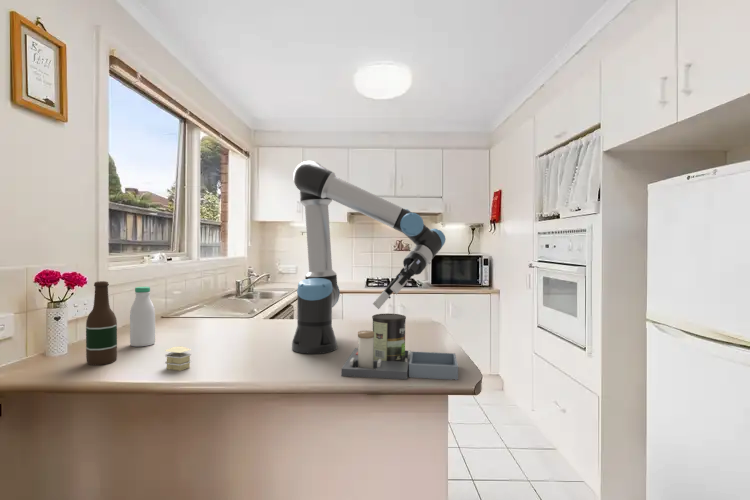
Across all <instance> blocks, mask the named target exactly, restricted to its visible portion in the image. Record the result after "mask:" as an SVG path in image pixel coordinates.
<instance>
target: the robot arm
mask: <svg viewBox="0 0 750 500" xmlns="http://www.w3.org/2000/svg"><path fill="white" fill-rule="evenodd" d="M292 178H293V183H294V186H295V188H297V190H299V200H300V204H301V205H303V206H304V210H305V211H304V214H305V226H306V228H305V229H306V243H307V258H308V272H307V273H306V274H305V276H304V278H305V279H302V280H300V281H299V282H298V284H297V290H296V293H297V305H296V306H297V317H296V319H297V326H296V328H295V333H294V335H293V338H292V342H291V350H292V351H294V352H296V353H300V354H308V355H309V354H311V355H313V354H314V355H315V354H318V355H319V354H325V353H331V352H333V351H335V350H337V347H338V346H337V343H338V342H337V339H336V336H335V331H334V329H333V325H332V324H333V323H332V321H333V308H334V307H335V306H336V305H337V303H338V302H339V298H340V288H339V285H338V276H337V275H338V274H337V273H336V272H335V271H334V270H333V262H332V261H333V260H332V246H331V228H330V217H329V216H330V215H329V214H330V213H329V211H330V210H329V205H331V203H332V202H333V201H334V202H336V203H338V204H340V205H342V206H345V207H347V208H349V209H351V210H354V211H356V212H358V213H360V214H362V215H364V216H367V217H368V218H370V219H373V220H375V221H377V222H379V223H381V224H383V225H385V226H388V227H390V228H392V229H394V230H396V231H398V232H400V233H402V234H404V235H405V236H406V237H407V238H408V239H409V240H411V241H412V242H413V244H415V246H414V247H413V248H412V249H411V250H410V251H409V253H408V254H407V255H406V257H405V258H404V259H403V261H402V264H403V267H402V268H401V269H400V271H399V272H398V273H397V275H396V276H395V278H394V279H393V280H392V281H391V282H390V283H389V284H388V286H386V288H384V290H383V291H382V292H381V294H380V295H379V296H378V297H377V298H376V299H375V301H374V302H373V303H372V305H373V306H374V307H375V308H377V310H379V309H381V308H382V306H383V305H384V304H385V303H386V302H387V300H388V299H391V295H392V294H393V293H394V294H395V295H397V294H398V293H400V292H401V290H402V288H404V286H405V285H406V284H407V282H409V280H411V278H412V277H413V276H415V275H417V276H418V275H420V274H421V273H423V271H424V270H425V269H426V267H427V266H428V265H431V264H432V261H433V259H434V257H436V256H437V254H438V253H439V252H440V251H441V250H442V248H443V246H444V245H445V243H446V236H445V233H444V232H443V231H442V230H440V229H438V228H429V227H428V226H426V224H425V223H424V220H423V218H422V216H421V215H419V214H418V213H416V212H412V211H410V210H409V209H405V208H403V207H401V206H399V205H397V204H395V203H393V202H391V201H389V200H386V199H384V198H383V197H380V196H377V195H376V194H373V193H372V192H370V191H367V190H366V189H363V188H361V187H358V186H357V185H355V184H353V183H350V182H347V181H346V180H343V179H342V178H340V177H337V175H336V173H335V172H333V171H332V170H329V169H327V168H326V167H324V166H323V165H321V164H320V163H319V162H318V161H315V160H314V161H313V160H306V161H302V162H301V163H299V164H298V165H297V166H296V167H295V169H294V171H293V177H292Z"/></svg>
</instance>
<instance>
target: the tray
mask: <svg viewBox="0 0 750 500" xmlns="http://www.w3.org/2000/svg"><path fill="white" fill-rule="evenodd" d="M410 351H411V350H410ZM408 378H413V379H414V378H415V379H417V378H418V379H436V380H437V379H439V380H452V379H455V381H457V380H459V364H458V360H457V355H456V353H455V352H454V353H452V352H435V351H434V352H430V351H411V355H410V361H409V370H408Z"/></svg>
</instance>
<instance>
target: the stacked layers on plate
mask: <svg viewBox="0 0 750 500" xmlns="http://www.w3.org/2000/svg"><path fill="white" fill-rule="evenodd" d="M188 351H192V349H191V348H188V347H185V346H173V347H170V348H168V349H167V348H166V349H165V352H166V353H167V352H169V353H167V354H165V355H164V356H165V358H166V361H165V363H164V364H165V365H166V369H167V370H174V371H179V372H180V371H183V370H186V369H190V368H191V366H190V365H191V364H190V363H192V360H191V359H190V358H191V357H190V356H192V353H190V352H188Z"/></svg>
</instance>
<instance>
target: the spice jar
mask: <svg viewBox="0 0 750 500" xmlns="http://www.w3.org/2000/svg"><path fill="white" fill-rule="evenodd" d="M357 339H358V340H357V342H358V345H357V348H358V367H357V368H371V369H374V368H373V361H374V332H373V330H359V331H358V332H357Z"/></svg>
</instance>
